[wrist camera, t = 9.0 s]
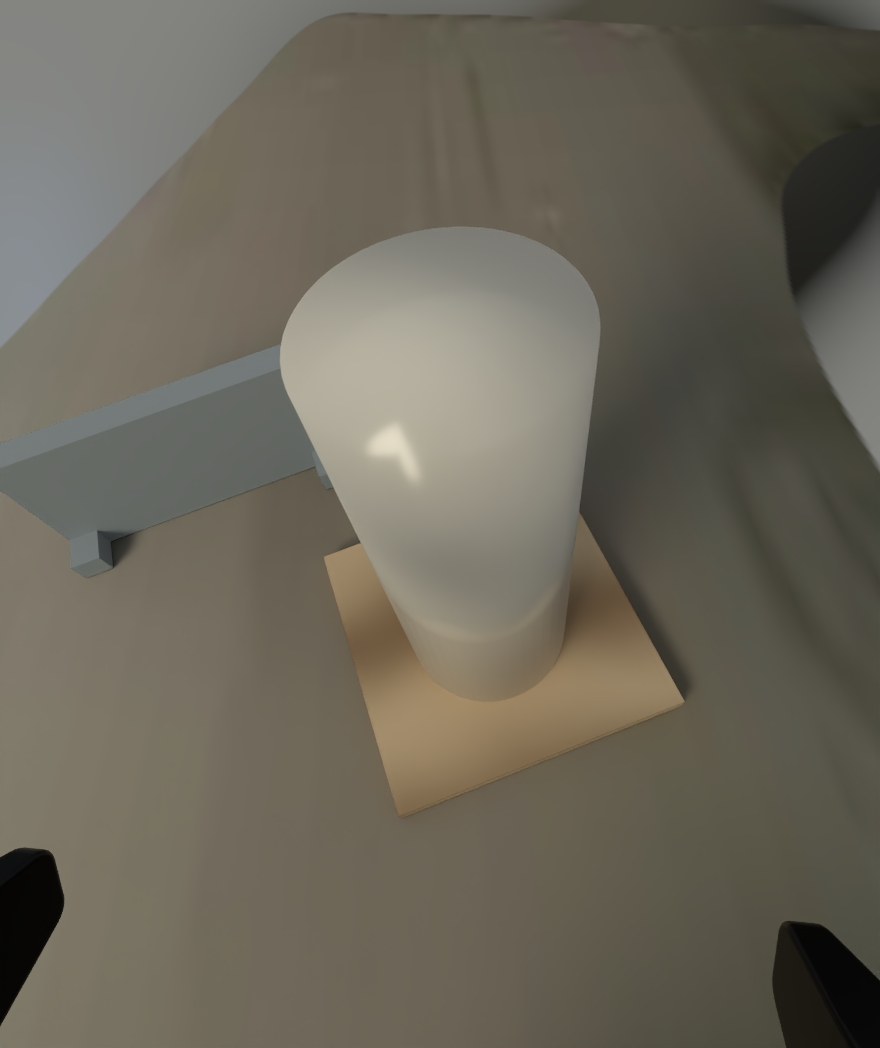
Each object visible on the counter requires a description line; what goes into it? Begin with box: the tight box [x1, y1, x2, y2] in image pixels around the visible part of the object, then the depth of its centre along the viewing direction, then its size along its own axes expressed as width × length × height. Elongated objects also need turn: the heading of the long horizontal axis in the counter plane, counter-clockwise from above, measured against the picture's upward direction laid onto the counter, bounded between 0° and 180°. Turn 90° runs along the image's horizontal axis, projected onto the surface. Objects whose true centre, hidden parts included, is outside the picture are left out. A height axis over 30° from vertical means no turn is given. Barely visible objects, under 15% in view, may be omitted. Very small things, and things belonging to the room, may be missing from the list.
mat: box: [324, 512, 685, 818], centre depth 23 cm, size 10×10×1 cm
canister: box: [280, 227, 601, 702], centre depth 17 cm, size 6×6×14 cm
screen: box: [0, 344, 333, 578], centre depth 26 cm, size 4×12×6 cm, turn 110°
